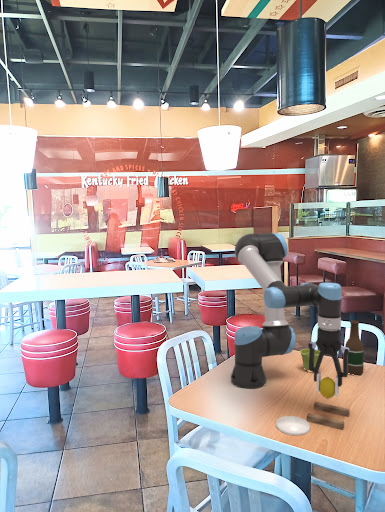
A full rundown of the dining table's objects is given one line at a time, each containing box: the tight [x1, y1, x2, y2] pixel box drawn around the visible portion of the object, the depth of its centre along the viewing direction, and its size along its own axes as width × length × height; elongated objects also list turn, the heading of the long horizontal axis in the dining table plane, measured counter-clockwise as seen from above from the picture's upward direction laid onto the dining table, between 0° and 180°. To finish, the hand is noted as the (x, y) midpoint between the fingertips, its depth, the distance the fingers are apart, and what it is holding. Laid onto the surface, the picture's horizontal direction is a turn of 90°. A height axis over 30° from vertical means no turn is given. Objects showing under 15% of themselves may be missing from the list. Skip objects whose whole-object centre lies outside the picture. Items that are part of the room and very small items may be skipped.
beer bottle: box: [344, 319, 365, 376], centre depth 177 cm, size 8×8×24 cm
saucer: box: [275, 415, 311, 436], centre depth 132 cm, size 11×11×1 cm
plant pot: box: [299, 348, 320, 370], centre depth 181 cm, size 9×9×9 cm
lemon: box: [319, 376, 335, 400], centre depth 137 cm, size 6×6×8 cm
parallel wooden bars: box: [306, 401, 350, 430], centre depth 137 cm, size 12×12×2 cm
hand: (327, 392), depth 137 cm, fingers closed on lemon, 5 cm apart
